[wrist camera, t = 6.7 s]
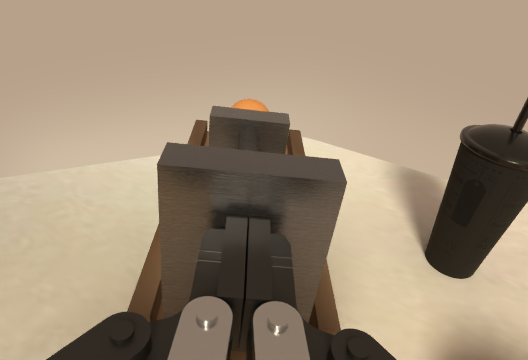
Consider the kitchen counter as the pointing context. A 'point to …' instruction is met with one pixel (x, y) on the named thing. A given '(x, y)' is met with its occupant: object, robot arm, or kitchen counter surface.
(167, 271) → the plunger
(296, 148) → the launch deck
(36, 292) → the kitchen counter surface
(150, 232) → the kitchen counter surface
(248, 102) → the ball
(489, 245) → the drinking cup
